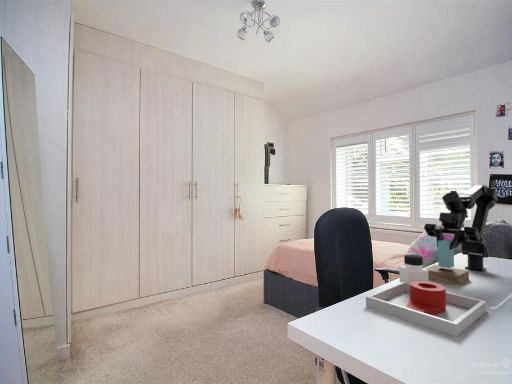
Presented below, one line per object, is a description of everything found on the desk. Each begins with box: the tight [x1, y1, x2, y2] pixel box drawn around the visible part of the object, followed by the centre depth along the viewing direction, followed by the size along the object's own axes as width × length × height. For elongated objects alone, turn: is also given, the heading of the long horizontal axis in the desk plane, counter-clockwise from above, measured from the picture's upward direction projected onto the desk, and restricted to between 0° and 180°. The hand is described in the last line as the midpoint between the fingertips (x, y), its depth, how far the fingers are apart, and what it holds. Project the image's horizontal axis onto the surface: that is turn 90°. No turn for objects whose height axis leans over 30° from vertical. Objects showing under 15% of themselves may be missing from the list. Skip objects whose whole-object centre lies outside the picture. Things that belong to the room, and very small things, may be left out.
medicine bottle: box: [399, 253, 430, 283], centre depth 106 cm, size 7×7×12 cm
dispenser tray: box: [365, 282, 487, 338], centre depth 86 cm, size 24×24×3 cm
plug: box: [437, 239, 455, 268], centre depth 114 cm, size 4×4×10 cm
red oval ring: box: [405, 281, 447, 316], centre depth 85 cm, size 18×9×7 cm, turn 131°
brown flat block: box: [425, 264, 470, 287], centre depth 114 cm, size 12×12×4 cm
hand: (444, 248), depth 114 cm, fingers closed on plug, 4 cm apart
